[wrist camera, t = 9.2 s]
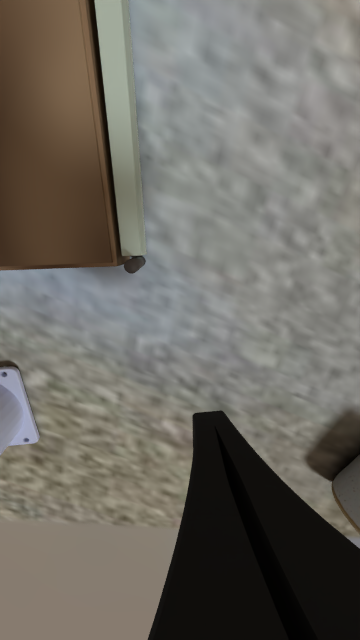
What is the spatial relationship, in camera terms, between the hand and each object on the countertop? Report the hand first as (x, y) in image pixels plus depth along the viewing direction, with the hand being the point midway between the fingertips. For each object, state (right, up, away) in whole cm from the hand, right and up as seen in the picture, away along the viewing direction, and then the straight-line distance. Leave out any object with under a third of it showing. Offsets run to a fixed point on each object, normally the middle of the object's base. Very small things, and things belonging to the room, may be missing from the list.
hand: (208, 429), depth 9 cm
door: (-4, +16, +4) cm, 17 cm away
